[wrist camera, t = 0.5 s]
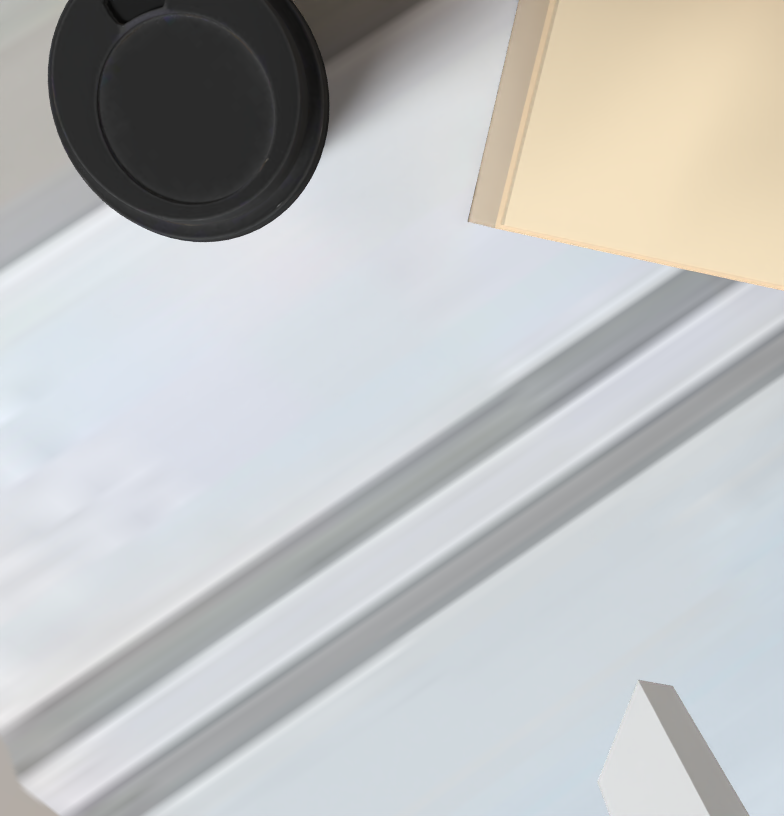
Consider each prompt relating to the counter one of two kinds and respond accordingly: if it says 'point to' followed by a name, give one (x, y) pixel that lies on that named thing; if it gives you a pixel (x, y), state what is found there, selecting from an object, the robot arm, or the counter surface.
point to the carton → (510, 127)
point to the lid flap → (660, 133)
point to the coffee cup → (190, 109)
